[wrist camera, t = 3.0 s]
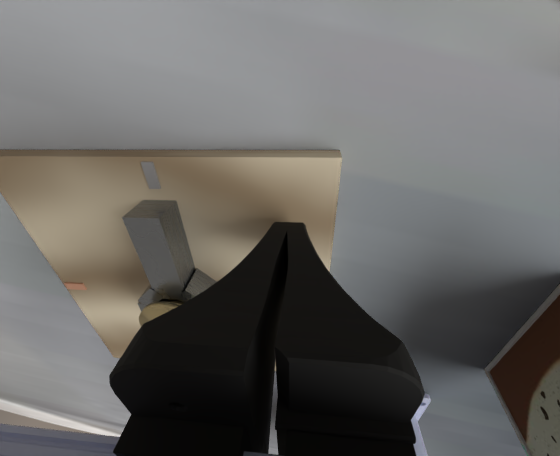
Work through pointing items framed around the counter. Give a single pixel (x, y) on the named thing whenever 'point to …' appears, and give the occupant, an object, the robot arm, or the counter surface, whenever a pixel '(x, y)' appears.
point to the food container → (532, 379)
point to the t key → (164, 252)
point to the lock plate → (161, 186)
